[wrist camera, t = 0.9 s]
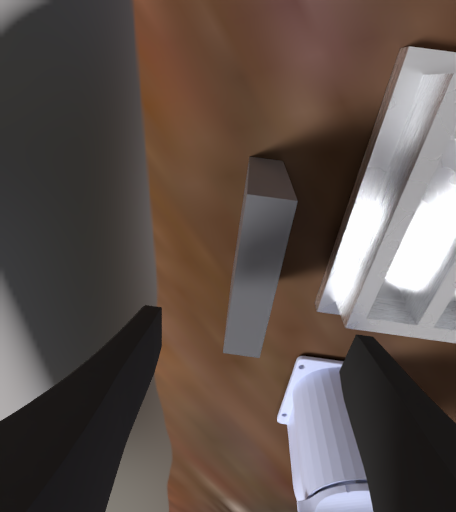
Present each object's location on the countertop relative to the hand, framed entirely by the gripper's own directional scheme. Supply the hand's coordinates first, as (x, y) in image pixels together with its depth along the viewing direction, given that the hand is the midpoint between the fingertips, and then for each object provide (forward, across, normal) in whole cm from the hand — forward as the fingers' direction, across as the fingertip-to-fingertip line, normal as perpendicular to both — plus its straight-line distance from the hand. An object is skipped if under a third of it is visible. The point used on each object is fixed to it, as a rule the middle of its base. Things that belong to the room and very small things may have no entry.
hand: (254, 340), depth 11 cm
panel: (+10, 0, 0) cm, 10 cm away
